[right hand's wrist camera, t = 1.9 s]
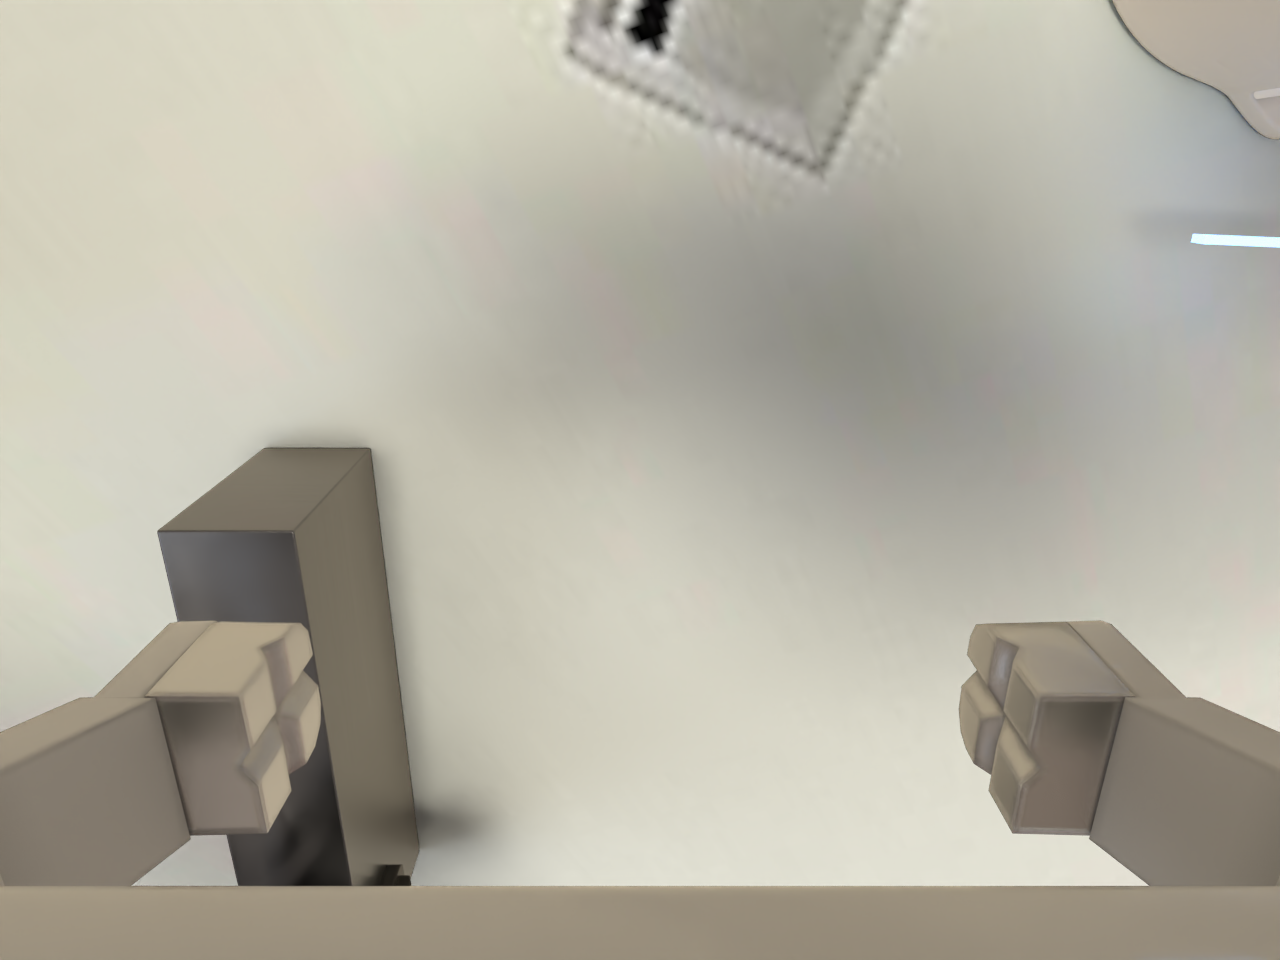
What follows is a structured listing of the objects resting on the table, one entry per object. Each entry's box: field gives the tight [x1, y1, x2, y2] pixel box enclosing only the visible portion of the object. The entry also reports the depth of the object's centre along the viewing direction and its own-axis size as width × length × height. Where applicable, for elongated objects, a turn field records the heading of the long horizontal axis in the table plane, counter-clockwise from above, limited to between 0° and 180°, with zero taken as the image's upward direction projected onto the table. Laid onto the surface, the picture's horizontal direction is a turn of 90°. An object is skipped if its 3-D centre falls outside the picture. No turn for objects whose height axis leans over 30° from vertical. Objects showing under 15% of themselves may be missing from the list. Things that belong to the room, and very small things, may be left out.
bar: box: [157, 448, 419, 886], centre depth 40 cm, size 25×5×9 cm, turn 0°
